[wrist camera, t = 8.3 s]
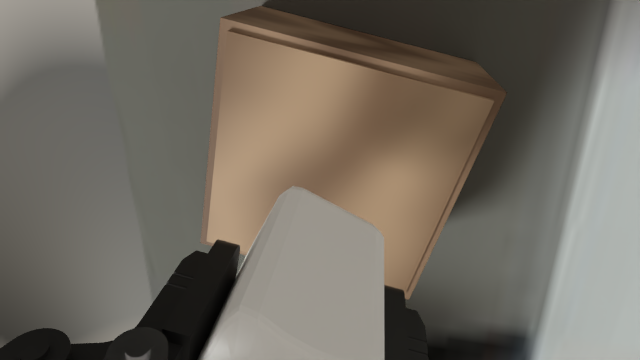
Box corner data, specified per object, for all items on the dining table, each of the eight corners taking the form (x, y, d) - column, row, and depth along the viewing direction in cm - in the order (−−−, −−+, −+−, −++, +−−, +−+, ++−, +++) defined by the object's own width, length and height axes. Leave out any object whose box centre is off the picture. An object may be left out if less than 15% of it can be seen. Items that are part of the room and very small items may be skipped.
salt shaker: (390, 226, 14) (403, 612, 6) (336, 295, 16) (285, 657, 7) (290, 173, 13) (140, 507, 5) (247, 250, 15) (88, 584, 7)
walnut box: (476, 62, 21) (508, 94, 16) (403, 235, 27) (409, 302, 21) (260, 5, 21) (218, 18, 16) (235, 190, 27) (198, 245, 22)
